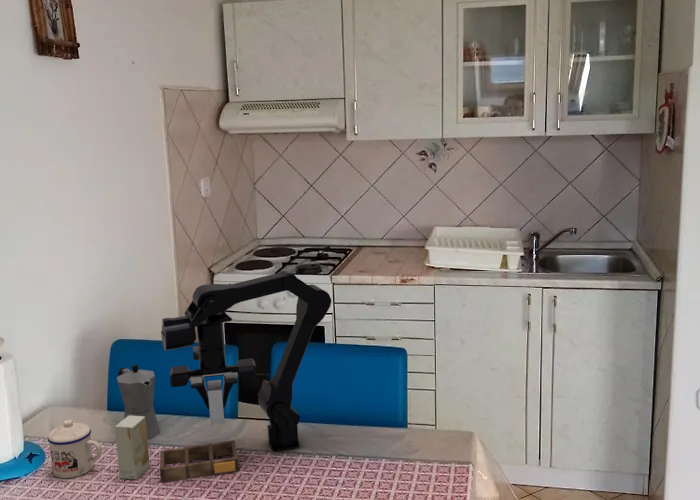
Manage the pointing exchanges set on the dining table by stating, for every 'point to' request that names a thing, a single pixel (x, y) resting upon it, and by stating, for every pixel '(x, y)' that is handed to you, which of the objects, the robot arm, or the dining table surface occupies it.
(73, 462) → the teacup with lid
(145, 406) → the coffeepot
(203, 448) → the rack
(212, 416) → the grey metallic rectangular block
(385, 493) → the dining table surface
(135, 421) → the skincare box
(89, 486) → the dining table surface
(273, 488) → the dining table surface
